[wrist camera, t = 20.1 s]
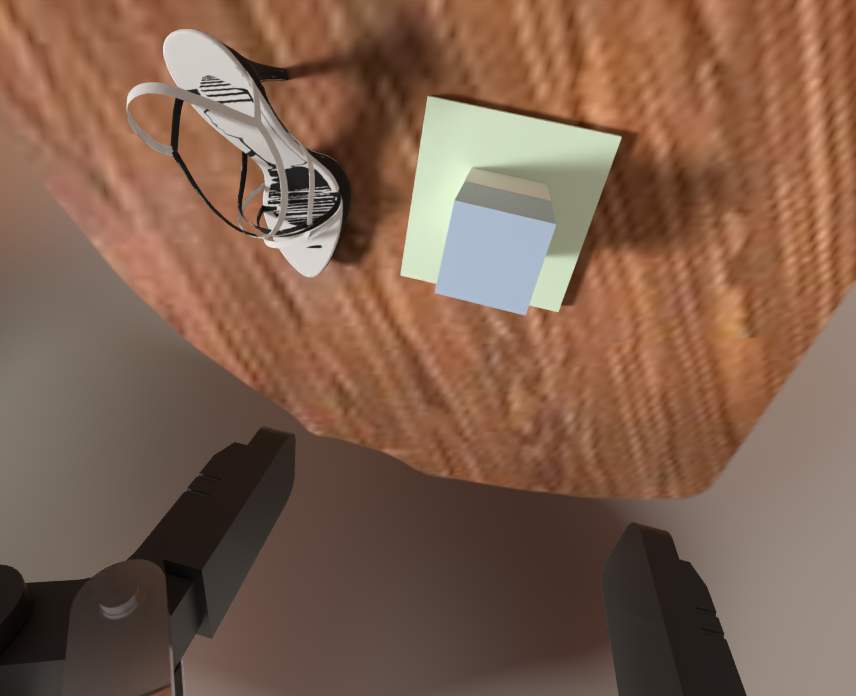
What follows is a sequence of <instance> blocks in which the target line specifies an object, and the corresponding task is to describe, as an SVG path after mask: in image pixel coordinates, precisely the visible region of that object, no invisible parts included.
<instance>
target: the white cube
mask: <svg viewBox="0 0 856 696" xmlns="http://www.w3.org/2000/svg"><path fill="white" fill-rule="evenodd" d="M464 182H468V183H473V184H477V185H481V186H485V187H490V188H494V189H498V190H503V191H507V192H511V193H515V194H520V195H524V196H528V197H532V198H537V199H541V200H545V201H549V202H551V198H550V194H549V189H548V185H547V184H544V183H540V182H535V181H531V180H526V179H522V178H517V177H513V176H508V175H504V174H499V173H494V172H490V171H485V170H481V169H476V168H471V170H470V171H469V173H468V175H467V177H466V179H465V181H464Z"/></svg>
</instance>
